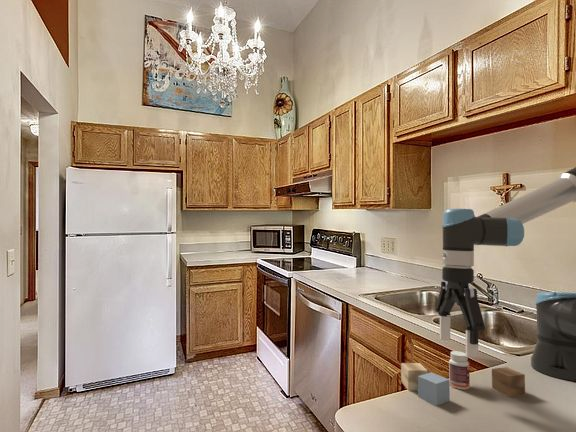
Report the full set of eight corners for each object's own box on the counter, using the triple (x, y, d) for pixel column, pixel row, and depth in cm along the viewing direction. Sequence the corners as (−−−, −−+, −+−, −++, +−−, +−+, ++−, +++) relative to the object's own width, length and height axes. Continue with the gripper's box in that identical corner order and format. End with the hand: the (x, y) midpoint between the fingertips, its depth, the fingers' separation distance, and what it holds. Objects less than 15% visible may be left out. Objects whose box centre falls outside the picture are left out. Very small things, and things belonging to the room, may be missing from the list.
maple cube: (419, 382, 92) (419, 363, 93) (427, 390, 87) (427, 370, 88) (401, 382, 92) (401, 363, 92) (408, 390, 87) (408, 370, 87)
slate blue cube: (431, 392, 86) (431, 372, 87) (449, 400, 82) (449, 379, 82) (418, 397, 84) (418, 376, 84) (436, 406, 79) (436, 383, 80)
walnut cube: (507, 386, 90) (506, 367, 91) (525, 395, 86) (524, 374, 86) (492, 388, 89) (491, 368, 89) (509, 397, 84) (509, 376, 85)
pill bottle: (472, 391, 87) (471, 357, 88) (452, 389, 88) (451, 355, 89) (466, 383, 92) (466, 351, 92) (447, 381, 93) (447, 349, 93)
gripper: (424, 262, 104) (423, 333, 103) (469, 271, 79) (469, 365, 78) (448, 263, 104) (448, 334, 103) (501, 272, 79) (502, 366, 78)
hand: (457, 347), depth 91 cm, fingers open, 13 cm apart
